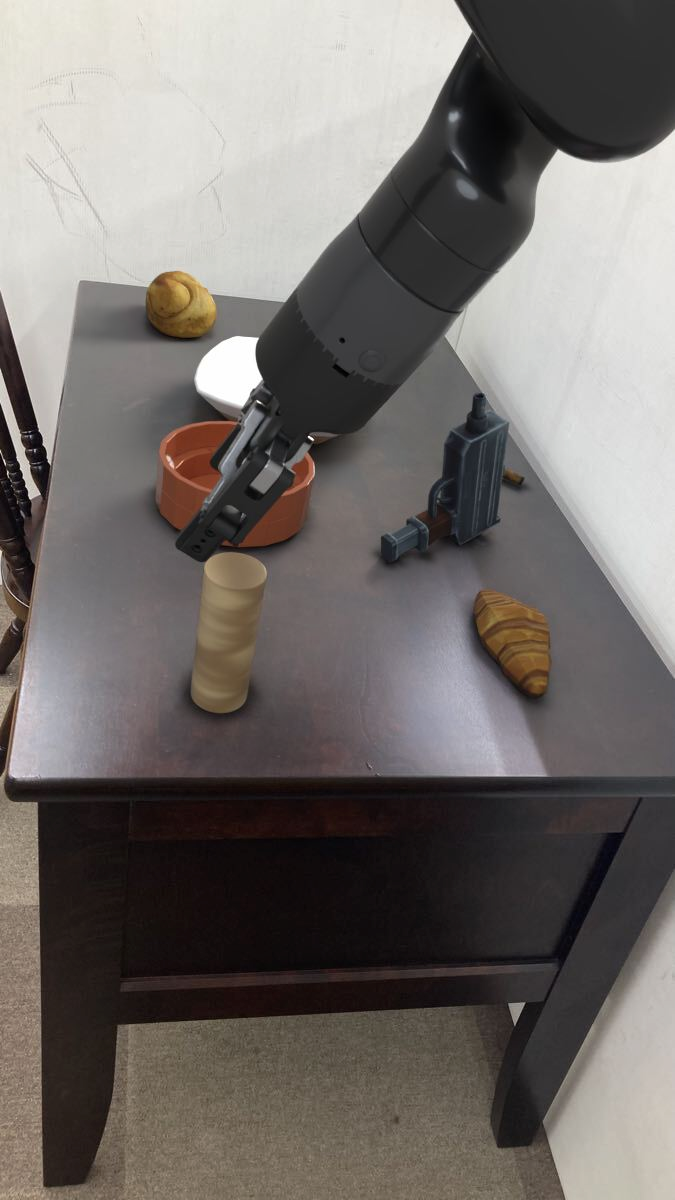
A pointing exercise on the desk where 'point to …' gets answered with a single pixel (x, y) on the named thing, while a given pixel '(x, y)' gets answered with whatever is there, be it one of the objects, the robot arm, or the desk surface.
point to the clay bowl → (193, 480)
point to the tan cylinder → (227, 631)
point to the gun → (460, 486)
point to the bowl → (233, 378)
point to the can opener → (513, 477)
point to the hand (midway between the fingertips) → (206, 509)
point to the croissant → (515, 640)
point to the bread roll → (180, 305)
